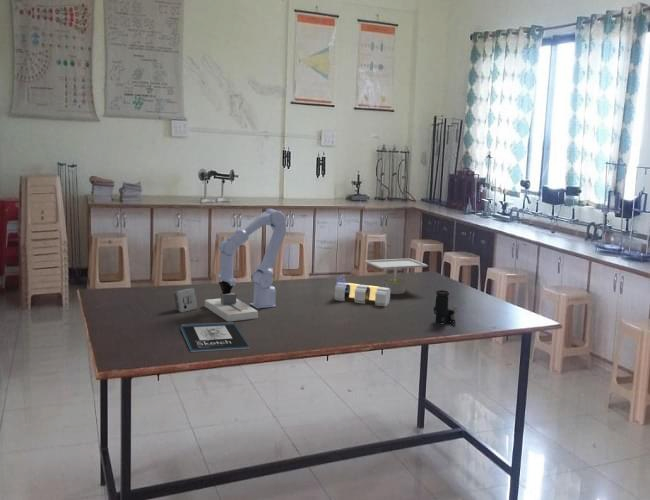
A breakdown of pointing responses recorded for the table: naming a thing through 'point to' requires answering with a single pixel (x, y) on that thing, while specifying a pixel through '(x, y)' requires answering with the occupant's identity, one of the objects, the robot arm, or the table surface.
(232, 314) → the white flat rectangular block
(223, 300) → the fader tab
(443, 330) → the table surface
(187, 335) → the sketchbook
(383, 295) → the gray yellow segmented block
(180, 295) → the electrical switch
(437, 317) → the scope
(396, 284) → the solar panel model
